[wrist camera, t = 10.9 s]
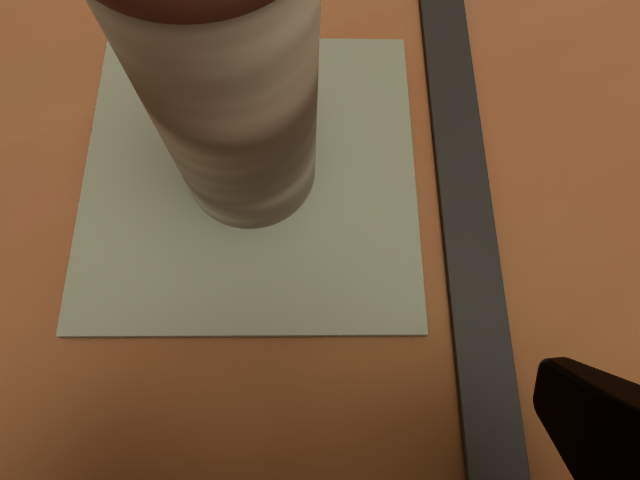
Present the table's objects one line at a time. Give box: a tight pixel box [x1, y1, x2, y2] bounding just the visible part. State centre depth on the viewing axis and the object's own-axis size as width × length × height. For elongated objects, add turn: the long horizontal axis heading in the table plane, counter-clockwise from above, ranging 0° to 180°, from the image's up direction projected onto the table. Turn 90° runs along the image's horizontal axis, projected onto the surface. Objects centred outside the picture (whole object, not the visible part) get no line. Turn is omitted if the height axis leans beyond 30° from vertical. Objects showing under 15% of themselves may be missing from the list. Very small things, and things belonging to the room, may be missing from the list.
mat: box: [56, 38, 428, 338], centre depth 19 cm, size 13×13×1 cm
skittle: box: [86, 0, 321, 229], centre depth 13 cm, size 5×5×13 cm
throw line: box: [419, 0, 530, 480], centre depth 19 cm, size 30×2×1 cm, turn 0°
